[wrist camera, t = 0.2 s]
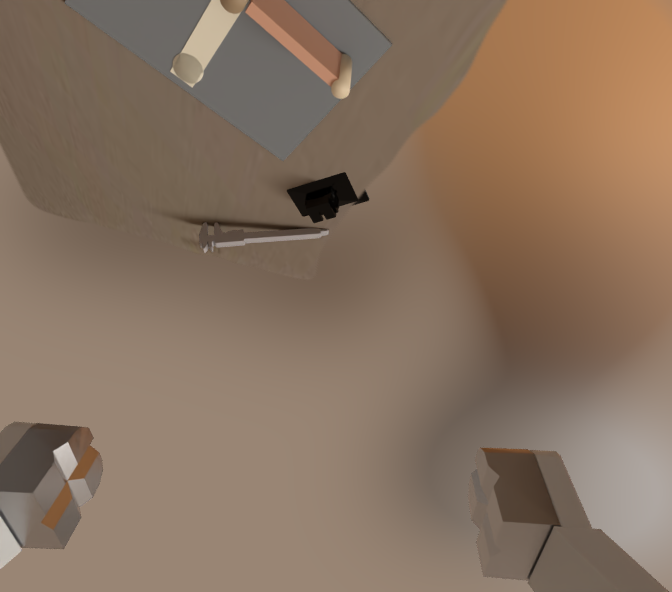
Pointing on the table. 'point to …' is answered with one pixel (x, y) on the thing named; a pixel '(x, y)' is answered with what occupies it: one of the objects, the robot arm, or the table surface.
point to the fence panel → (304, 43)
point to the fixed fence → (233, 5)
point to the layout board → (241, 59)
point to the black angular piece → (325, 197)
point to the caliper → (253, 236)
